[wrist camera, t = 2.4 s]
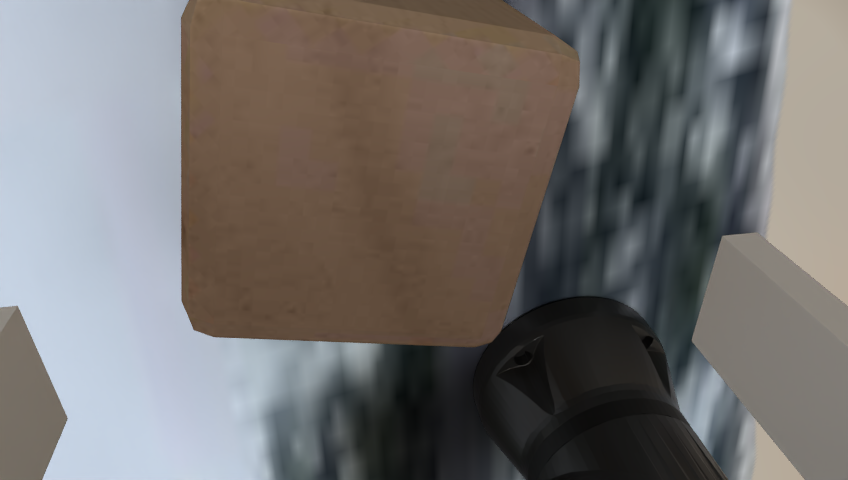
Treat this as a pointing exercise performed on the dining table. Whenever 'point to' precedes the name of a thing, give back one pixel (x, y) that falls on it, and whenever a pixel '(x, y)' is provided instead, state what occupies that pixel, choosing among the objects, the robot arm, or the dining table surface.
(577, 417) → the robot arm
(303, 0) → the wooden block
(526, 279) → the dining table surface
